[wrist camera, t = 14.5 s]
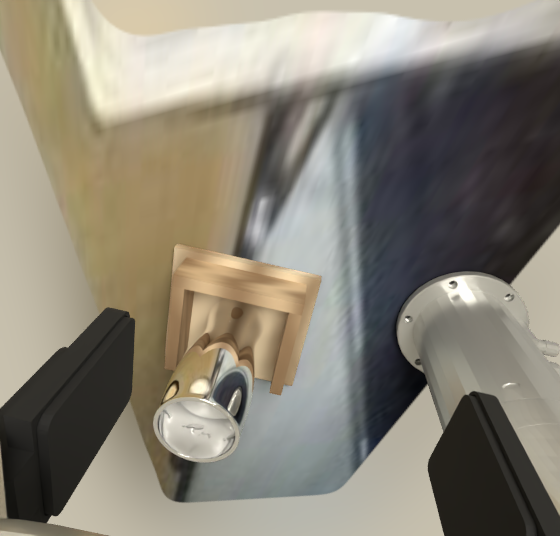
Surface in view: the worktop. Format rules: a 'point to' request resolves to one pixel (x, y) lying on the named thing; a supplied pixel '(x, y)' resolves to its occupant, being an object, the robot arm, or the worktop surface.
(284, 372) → the glass rest
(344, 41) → the worktop surface
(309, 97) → the worktop surface
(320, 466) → the worktop surface
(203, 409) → the beer glass
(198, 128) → the worktop surface
